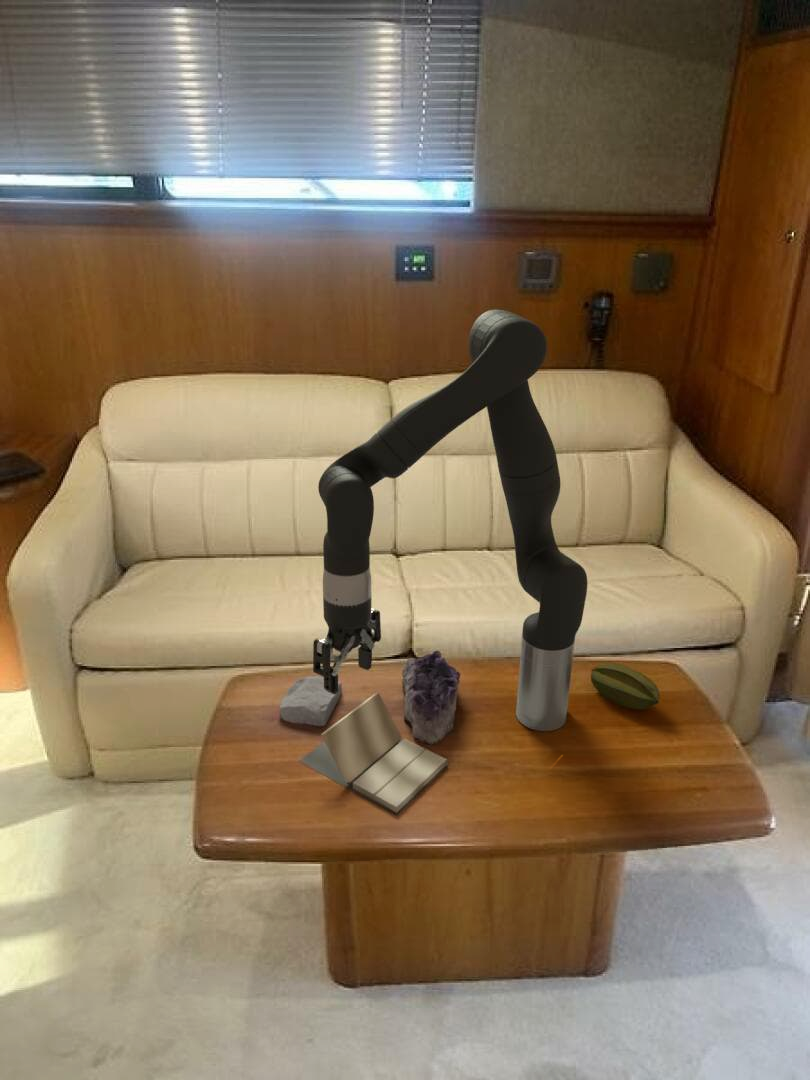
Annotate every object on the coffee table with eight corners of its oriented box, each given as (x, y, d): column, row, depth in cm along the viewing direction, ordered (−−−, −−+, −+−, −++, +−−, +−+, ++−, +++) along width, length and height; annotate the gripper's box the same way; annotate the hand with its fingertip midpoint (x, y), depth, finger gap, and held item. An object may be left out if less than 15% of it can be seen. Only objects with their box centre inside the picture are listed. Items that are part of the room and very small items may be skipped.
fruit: (645, 683, 156) (649, 655, 154) (658, 721, 145) (663, 692, 143) (587, 681, 157) (590, 653, 154) (595, 718, 146) (599, 688, 143)
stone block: (278, 731, 145) (329, 729, 143) (272, 709, 144) (323, 707, 141) (299, 695, 156) (346, 693, 153) (293, 674, 154) (341, 672, 152)
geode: (470, 747, 139) (465, 702, 134) (405, 754, 139) (398, 710, 135) (460, 677, 157) (455, 635, 152) (403, 683, 157) (396, 642, 153)
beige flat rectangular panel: (374, 693, 139) (378, 692, 138) (398, 740, 139) (402, 739, 138) (320, 734, 129) (325, 733, 128) (346, 784, 129) (351, 783, 128)
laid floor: (355, 718, 146) (355, 711, 145) (449, 765, 134) (449, 757, 133) (298, 762, 135) (298, 754, 134) (396, 817, 123) (396, 809, 122)
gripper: (336, 618, 115) (338, 709, 121) (393, 581, 125) (393, 667, 132) (298, 602, 119) (302, 692, 125) (357, 569, 129) (358, 653, 136)
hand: (348, 679), depth 129 cm, fingers open, 8 cm apart
